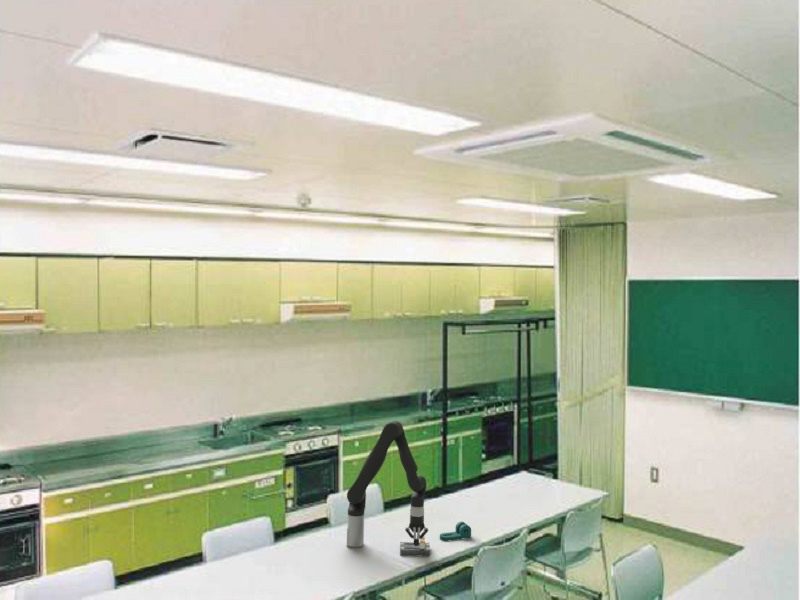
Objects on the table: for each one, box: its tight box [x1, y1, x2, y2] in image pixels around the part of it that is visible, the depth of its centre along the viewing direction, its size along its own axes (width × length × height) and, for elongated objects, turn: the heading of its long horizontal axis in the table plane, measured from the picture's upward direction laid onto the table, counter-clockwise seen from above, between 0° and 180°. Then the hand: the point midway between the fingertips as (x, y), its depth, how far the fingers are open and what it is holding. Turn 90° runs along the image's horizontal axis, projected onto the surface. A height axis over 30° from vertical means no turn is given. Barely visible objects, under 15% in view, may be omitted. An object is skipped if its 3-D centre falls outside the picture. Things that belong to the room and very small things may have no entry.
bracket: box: [439, 521, 472, 542], centre depth 398 cm, size 18×7×8 cm, turn 111°
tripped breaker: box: [419, 539, 426, 549], centre depth 373 cm, size 2×3×4 cm
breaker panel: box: [399, 541, 431, 557], centre depth 376 cm, size 16×11×3 cm
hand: (416, 545), depth 373 cm, fingers closed
